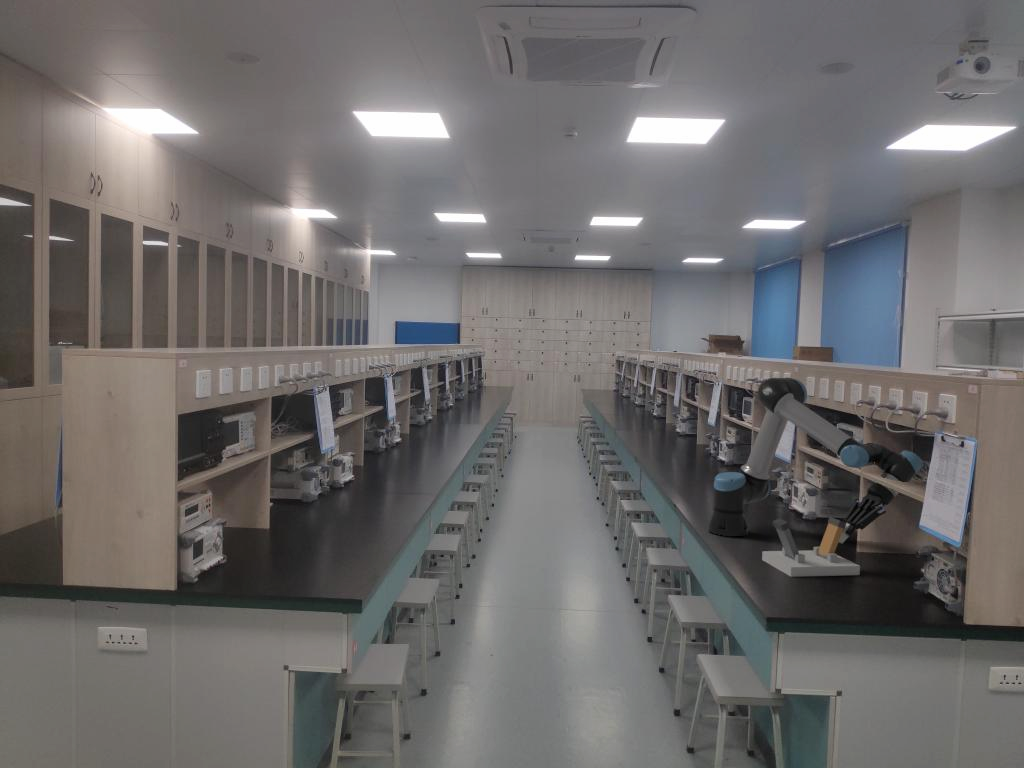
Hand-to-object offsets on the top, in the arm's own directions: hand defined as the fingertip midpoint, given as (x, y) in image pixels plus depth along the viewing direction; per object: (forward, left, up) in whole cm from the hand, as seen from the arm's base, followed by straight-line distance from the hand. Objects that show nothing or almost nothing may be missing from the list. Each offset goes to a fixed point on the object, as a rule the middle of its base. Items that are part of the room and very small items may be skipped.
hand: (838, 540), depth 215 cm
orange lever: (0, -4, -5) cm, 7 cm away
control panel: (0, -10, -9) cm, 13 cm away
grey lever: (0, -16, -5) cm, 17 cm away
